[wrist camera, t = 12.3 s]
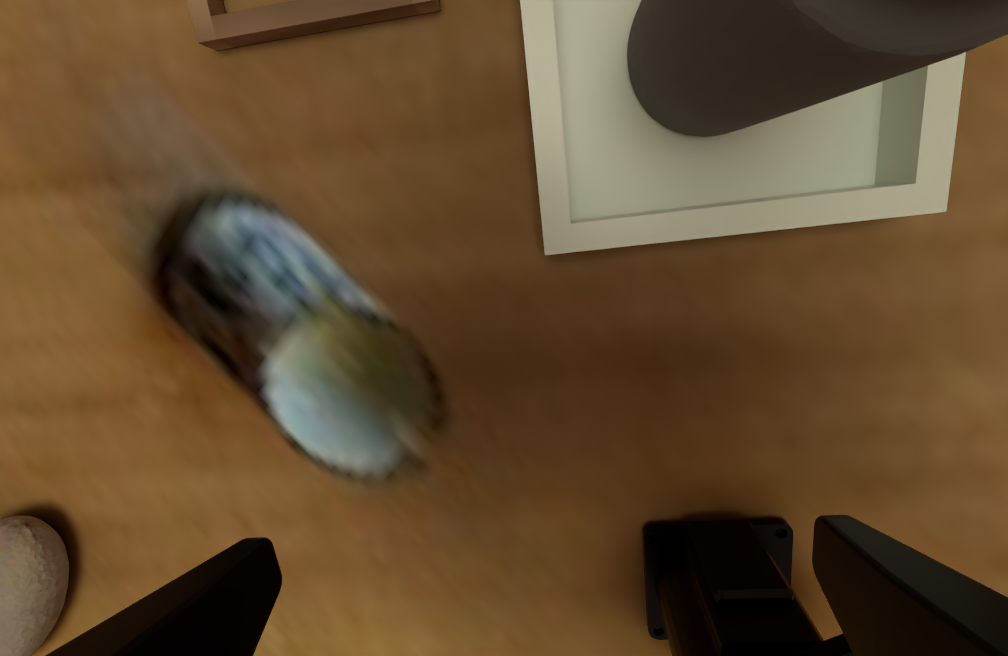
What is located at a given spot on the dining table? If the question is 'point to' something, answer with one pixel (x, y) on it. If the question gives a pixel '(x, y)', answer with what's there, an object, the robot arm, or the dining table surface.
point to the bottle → (787, 53)
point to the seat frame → (292, 19)
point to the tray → (717, 146)
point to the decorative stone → (30, 583)
